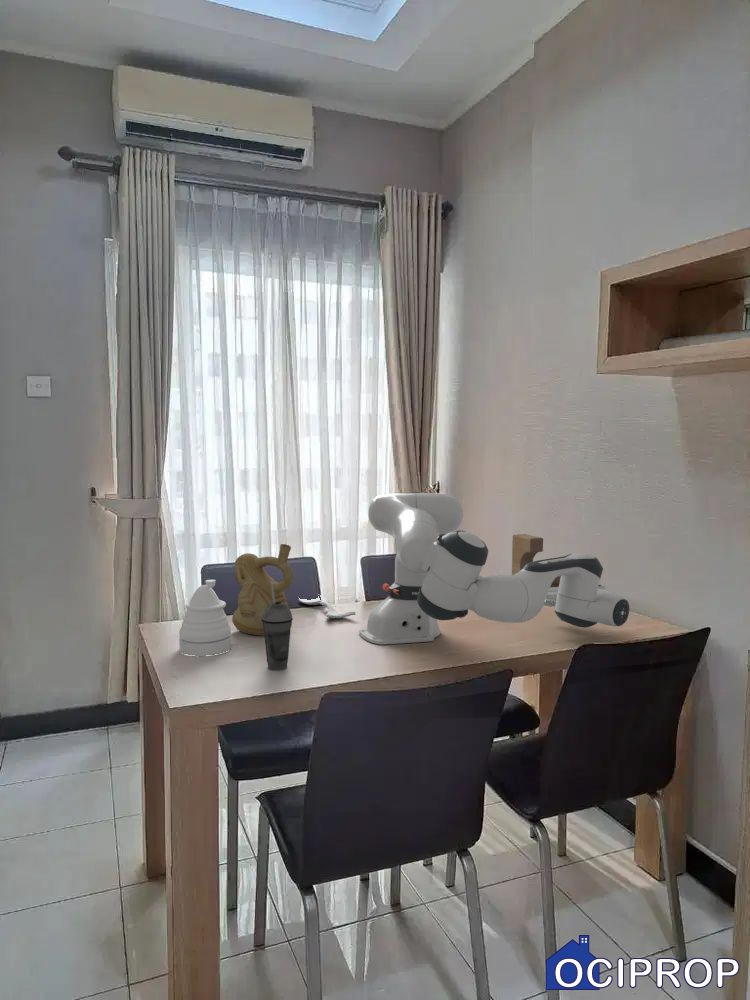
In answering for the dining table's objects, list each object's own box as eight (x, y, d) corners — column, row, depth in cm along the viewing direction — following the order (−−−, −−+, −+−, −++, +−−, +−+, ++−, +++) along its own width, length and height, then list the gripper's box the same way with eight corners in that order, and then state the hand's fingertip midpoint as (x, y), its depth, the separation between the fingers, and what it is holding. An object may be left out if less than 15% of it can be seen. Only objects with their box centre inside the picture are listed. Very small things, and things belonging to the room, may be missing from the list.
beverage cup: (292, 672, 158) (291, 586, 157) (260, 672, 158) (259, 587, 156) (293, 661, 166) (293, 580, 164) (263, 662, 165) (262, 580, 163)
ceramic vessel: (254, 619, 205) (253, 536, 203) (309, 628, 196) (308, 541, 194) (215, 633, 190) (214, 543, 188) (273, 643, 181) (272, 549, 179)
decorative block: (542, 594, 239) (544, 537, 237) (528, 596, 237) (530, 538, 235) (524, 588, 249) (525, 533, 247) (510, 589, 247) (511, 534, 245)
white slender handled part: (328, 625, 199) (328, 613, 199) (294, 601, 229) (294, 591, 228) (356, 622, 203) (356, 610, 203) (320, 599, 232) (320, 589, 232)
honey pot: (241, 645, 179) (240, 577, 177) (210, 659, 167) (209, 587, 166) (201, 639, 184) (200, 573, 183) (168, 653, 172) (167, 582, 171)
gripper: (549, 614, 184) (519, 602, 197) (608, 606, 193) (576, 596, 205) (550, 591, 184) (519, 581, 196) (609, 584, 192) (576, 575, 205)
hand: (548, 588), depth 201 cm, fingers closed on walnut block, 5 cm apart
